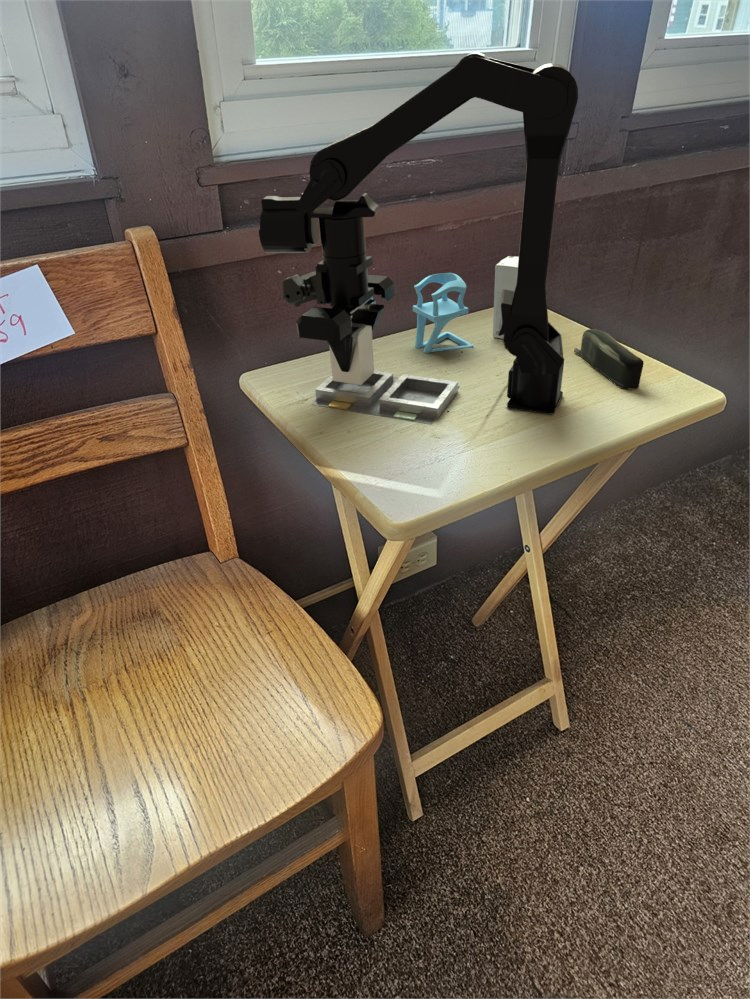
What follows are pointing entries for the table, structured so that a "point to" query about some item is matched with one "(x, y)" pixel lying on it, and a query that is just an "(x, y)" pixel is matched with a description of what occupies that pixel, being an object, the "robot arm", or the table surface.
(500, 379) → the table surface
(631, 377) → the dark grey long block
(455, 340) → the chair
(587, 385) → the table surface
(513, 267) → the skincare box
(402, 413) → the grey double tray
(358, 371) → the plug
